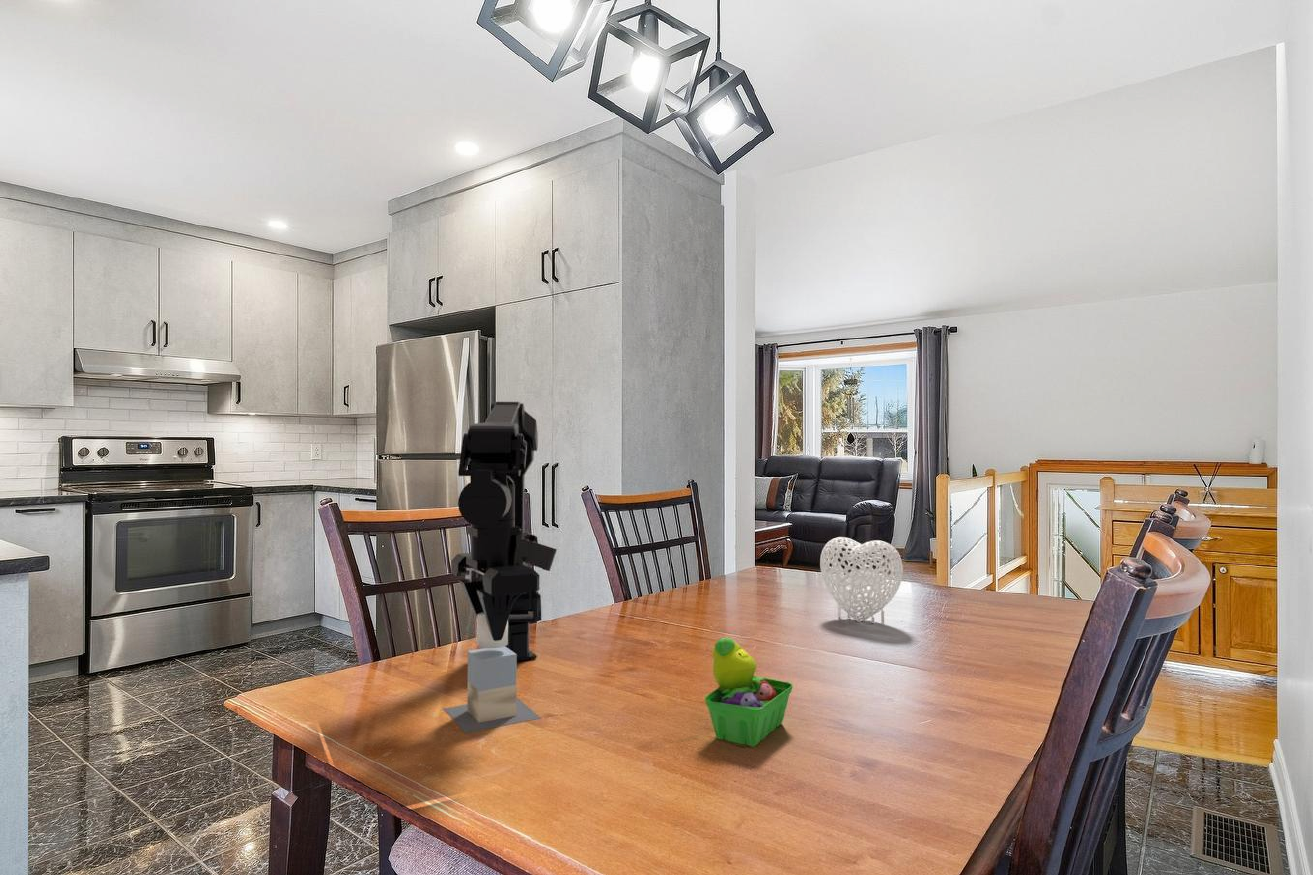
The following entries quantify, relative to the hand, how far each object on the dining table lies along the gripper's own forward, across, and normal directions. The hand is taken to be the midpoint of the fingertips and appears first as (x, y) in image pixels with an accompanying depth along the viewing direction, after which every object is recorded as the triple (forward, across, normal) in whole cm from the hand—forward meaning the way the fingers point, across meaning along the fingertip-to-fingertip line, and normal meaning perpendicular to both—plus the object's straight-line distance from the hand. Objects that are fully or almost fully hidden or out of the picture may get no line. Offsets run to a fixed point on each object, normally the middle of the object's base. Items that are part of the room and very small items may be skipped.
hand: (492, 636), depth 96 cm
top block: (+6, 0, 0) cm, 6 cm away
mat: (+10, 0, 0) cm, 10 cm away
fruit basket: (+11, -21, -26) cm, 35 cm away
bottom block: (+10, 0, 0) cm, 10 cm away
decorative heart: (+11, +13, -83) cm, 85 cm away
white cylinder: (+1, 0, 0) cm, 1 cm away
